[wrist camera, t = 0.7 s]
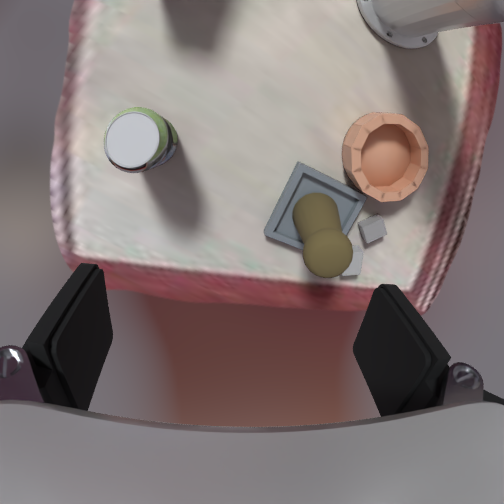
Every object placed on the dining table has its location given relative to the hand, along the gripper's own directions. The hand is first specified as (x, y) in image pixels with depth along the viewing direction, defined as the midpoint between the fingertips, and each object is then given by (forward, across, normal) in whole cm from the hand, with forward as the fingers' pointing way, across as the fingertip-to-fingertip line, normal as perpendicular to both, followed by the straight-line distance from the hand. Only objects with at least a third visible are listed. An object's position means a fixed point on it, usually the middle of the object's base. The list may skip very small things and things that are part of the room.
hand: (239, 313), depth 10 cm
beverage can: (+30, +9, -2) cm, 31 cm away
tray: (+29, -12, +5) cm, 32 cm away
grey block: (+30, -20, +6) cm, 36 cm away
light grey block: (+30, -18, +12) cm, 37 cm away
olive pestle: (+29, -11, +5) cm, 31 cm away
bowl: (+29, -19, -4) cm, 35 cm away
